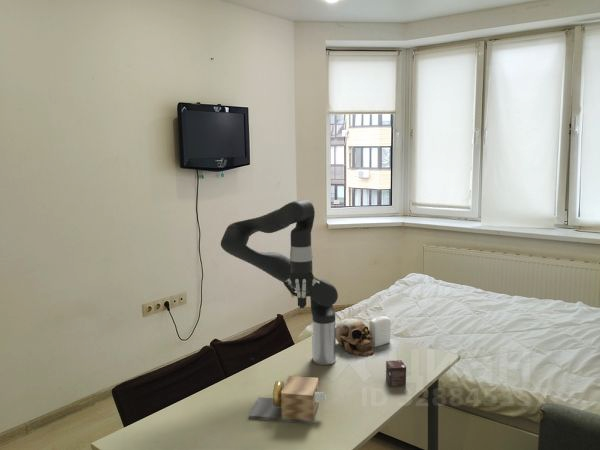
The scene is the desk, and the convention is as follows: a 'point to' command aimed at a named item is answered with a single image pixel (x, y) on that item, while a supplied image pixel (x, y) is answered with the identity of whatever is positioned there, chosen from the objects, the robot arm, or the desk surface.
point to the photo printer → (379, 331)
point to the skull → (354, 337)
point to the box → (396, 373)
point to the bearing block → (290, 402)
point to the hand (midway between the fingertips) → (302, 307)
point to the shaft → (278, 390)
